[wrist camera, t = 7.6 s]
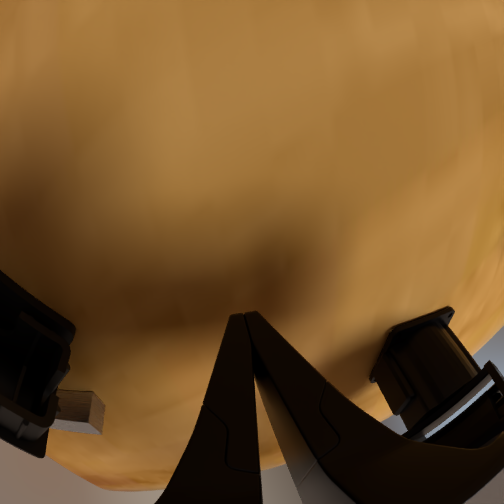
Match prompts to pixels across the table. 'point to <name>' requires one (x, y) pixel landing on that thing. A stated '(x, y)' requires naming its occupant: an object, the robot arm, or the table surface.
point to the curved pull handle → (79, 412)
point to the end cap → (30, 366)
